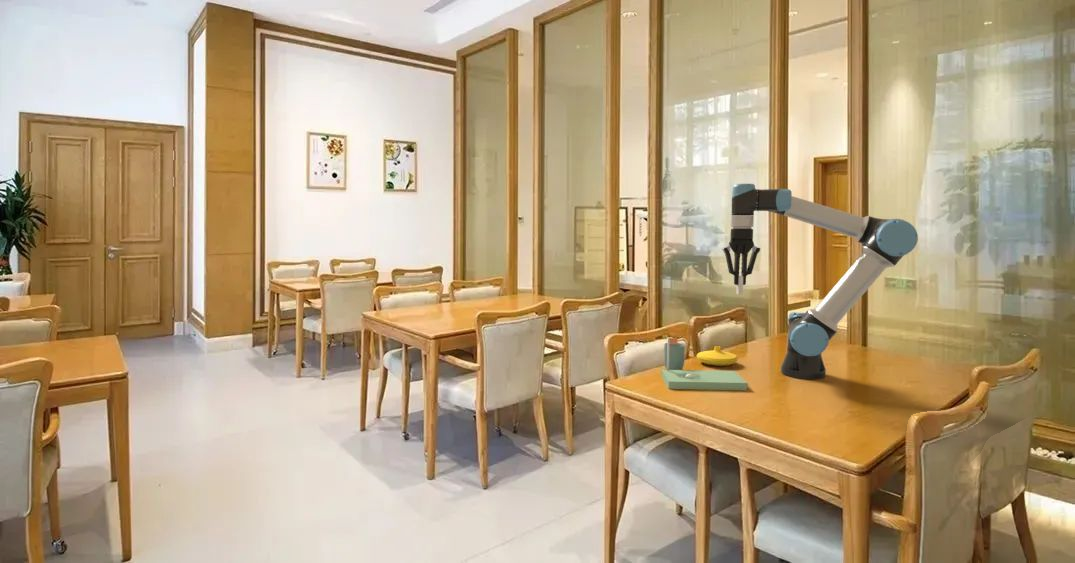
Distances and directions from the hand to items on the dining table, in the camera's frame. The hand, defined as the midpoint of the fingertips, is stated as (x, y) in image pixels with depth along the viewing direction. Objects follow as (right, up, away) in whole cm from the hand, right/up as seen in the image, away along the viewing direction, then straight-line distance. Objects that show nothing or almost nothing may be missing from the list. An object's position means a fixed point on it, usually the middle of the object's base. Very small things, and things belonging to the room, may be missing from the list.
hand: (739, 294), depth 215 cm
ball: (-19, -29, -5) cm, 35 cm away
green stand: (-15, -31, -5) cm, 35 cm away
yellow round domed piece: (-1, -29, +23) cm, 37 cm away
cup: (-21, -29, +12) cm, 38 cm away
